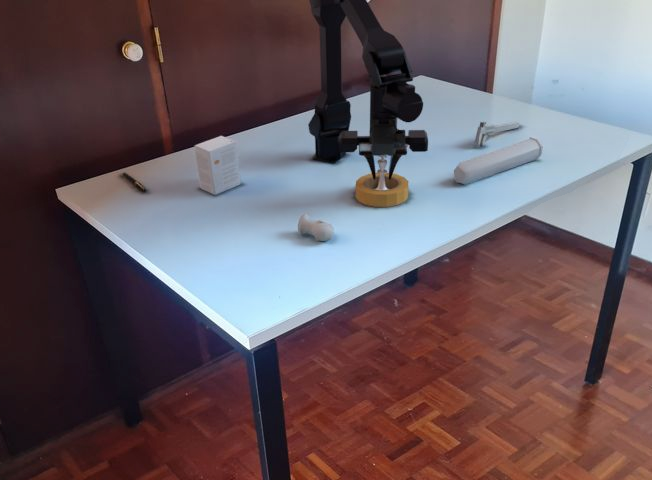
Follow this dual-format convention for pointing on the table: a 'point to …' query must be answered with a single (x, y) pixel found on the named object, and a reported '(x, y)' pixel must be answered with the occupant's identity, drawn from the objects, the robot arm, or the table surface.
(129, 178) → the fountain pen
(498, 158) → the tube
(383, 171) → the chess piece
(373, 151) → the robot arm
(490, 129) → the caliper
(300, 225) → the pale two-lobed sculpture
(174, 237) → the table surface
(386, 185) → the tape roll
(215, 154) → the small box
